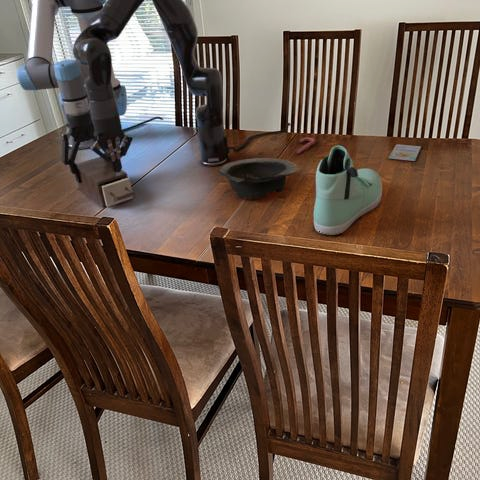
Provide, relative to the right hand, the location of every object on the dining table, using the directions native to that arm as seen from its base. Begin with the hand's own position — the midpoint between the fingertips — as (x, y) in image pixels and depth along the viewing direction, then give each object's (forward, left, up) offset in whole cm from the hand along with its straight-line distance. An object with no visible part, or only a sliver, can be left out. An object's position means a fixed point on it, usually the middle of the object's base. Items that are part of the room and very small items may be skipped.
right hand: (117, 171), depth 143 cm
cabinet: (+2, -16, -12) cm, 20 cm away
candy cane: (-73, -6, -12) cm, 74 cm away
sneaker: (-53, +42, -12) cm, 69 cm away
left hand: (+3, -23, -9) cm, 25 cm away
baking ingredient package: (-97, +22, -12) cm, 100 cm away
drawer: (+1, -10, -12) cm, 15 cm away
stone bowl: (-40, +14, -12) cm, 44 cm away
